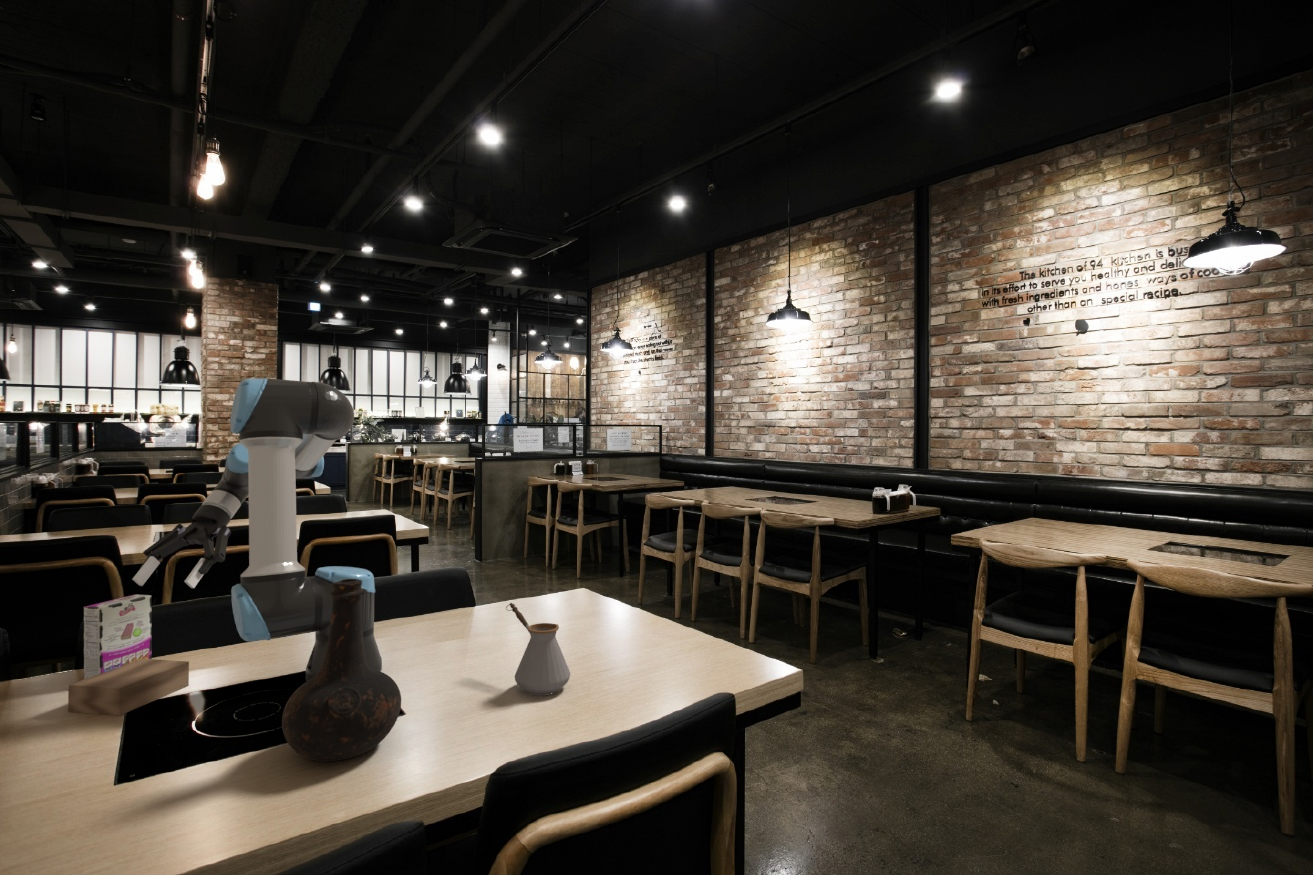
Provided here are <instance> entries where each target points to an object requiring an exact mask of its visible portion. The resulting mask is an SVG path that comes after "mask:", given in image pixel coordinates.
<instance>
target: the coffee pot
mask: <svg viewBox="0 0 1313 875" xmlns="http://www.w3.org/2000/svg"><path fill="white" fill-rule="evenodd" d="M509 606H510V608H511V609H507V608H508V607H509ZM505 610H506V611H507V612H509V611H512V612H513V613H515V616H516V618H517V619H518V620H519V621H520V623H521V624H522V625H523V627H524V628H526V630H527V632H528V633H529V634H530V639H529V641H528V643H527V646H526V648H525V650H524V653H523V655H522V657H521V660H520V662H519V664H518V667H517V669H516V672H515V675H514V681H515V683H516V685H518V687H519V688H520V689H521V690H523V692H524V693H526V694H527V693H528V694H527V695H530V694H531V695H530V696H535V695H536V696H537V695H538V697H539V696H540V695H541V696H542V697H543V695H544V696H549V695H548V694H551V693H554V694H556V692H557V693H559V692H560V691H561V690H562V688H563V687H565V686H566V684H567V683H568V682H569V680H570V678H571V671H570V669H569V666H568V663H567V662H566V659H565V657H564V654H563V652H562V649H561V647H560V645H559V642H558V640H557V637H556V636H557V631H559V629H560V627H559V624H557V623H552V622H551V623H549V622H542V623H534V624H531V625H529V623H528V622H527V620H526V618H525V616H524V615H523V614H522V612H520V611H519V610H518V607H517V606H516V604H514V603H512V602H509V604H507V606H506V607H505ZM560 689H561V690H560ZM559 690H560V691H559ZM551 695H552V694H551ZM541 696H540V697H541Z"/></svg>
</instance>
